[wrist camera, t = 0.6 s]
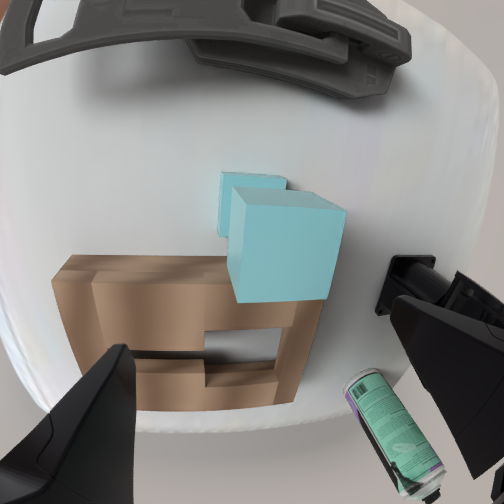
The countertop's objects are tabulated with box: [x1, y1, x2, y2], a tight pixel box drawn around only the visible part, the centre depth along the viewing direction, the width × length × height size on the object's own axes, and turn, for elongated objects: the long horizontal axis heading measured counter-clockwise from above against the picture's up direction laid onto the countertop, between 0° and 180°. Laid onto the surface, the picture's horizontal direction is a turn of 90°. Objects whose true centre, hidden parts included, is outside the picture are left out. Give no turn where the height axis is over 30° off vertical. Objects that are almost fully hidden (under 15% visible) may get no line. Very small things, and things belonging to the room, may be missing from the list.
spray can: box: [343, 369, 447, 504], centre depth 22 cm, size 6×6×20 cm
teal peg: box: [217, 172, 347, 303], centre depth 15 cm, size 4×4×9 cm
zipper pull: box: [0, 0, 412, 100], centre depth 10 cm, size 9×7×25 cm
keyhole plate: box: [51, 255, 324, 412], centre depth 20 cm, size 18×13×4 cm
